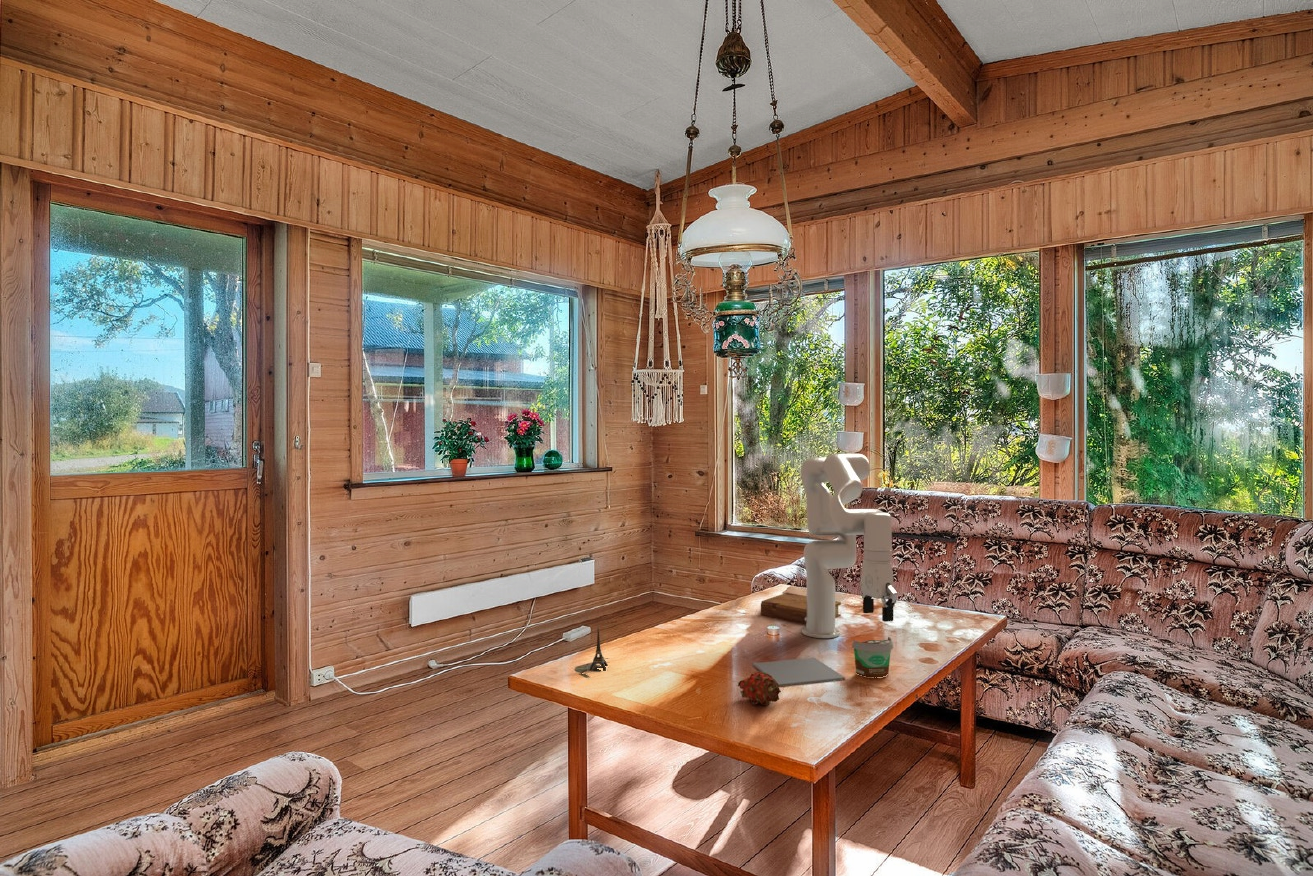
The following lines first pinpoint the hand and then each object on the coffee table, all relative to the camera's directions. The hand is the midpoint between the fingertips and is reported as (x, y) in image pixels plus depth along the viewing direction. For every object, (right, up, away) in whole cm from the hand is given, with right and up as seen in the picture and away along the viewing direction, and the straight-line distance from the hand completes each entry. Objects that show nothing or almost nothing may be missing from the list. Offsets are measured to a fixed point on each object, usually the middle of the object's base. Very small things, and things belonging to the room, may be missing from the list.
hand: (877, 616), depth 207 cm
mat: (-22, -17, +4) cm, 28 cm away
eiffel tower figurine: (-79, -18, +8) cm, 82 cm away
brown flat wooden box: (-9, -16, +66) cm, 69 cm away
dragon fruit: (-36, -18, -19) cm, 44 cm away
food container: (0, -17, +1) cm, 17 cm away
